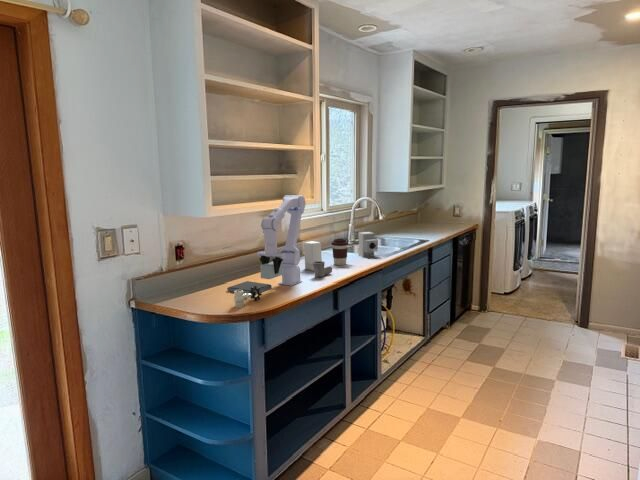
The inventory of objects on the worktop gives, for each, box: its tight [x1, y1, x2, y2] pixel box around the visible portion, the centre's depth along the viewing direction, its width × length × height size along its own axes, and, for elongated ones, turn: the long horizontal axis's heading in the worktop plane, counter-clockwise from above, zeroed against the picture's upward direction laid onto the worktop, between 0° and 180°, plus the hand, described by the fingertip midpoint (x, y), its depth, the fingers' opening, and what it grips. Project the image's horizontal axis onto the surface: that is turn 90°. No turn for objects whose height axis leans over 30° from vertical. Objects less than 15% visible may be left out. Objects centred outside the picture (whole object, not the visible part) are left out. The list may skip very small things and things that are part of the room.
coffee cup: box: [331, 238, 349, 266], centre depth 262 cm, size 10×10×15 cm
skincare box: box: [303, 240, 323, 272], centre depth 250 cm, size 8×7×16 cm
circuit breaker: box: [357, 231, 379, 258], centre depth 285 cm, size 8×14×15 cm, turn 21°
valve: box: [233, 286, 262, 308], centre depth 186 cm, size 7×7×12 cm
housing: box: [259, 261, 283, 280], centre depth 203 cm, size 10×5×6 cm, turn 149°
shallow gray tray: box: [227, 280, 272, 295], centre depth 208 cm, size 14×15×2 cm
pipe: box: [312, 261, 333, 278], centre depth 234 cm, size 6×13×8 cm, turn 136°
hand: (271, 272), depth 203 cm, fingers closed on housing, 5 cm apart
